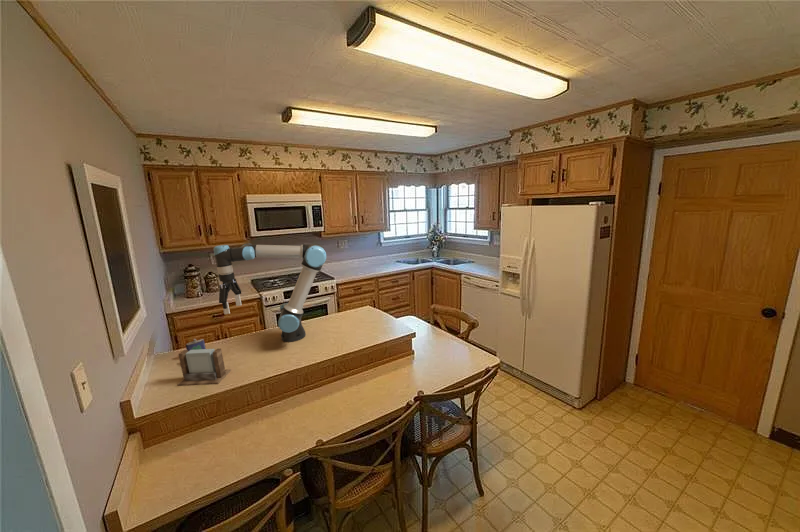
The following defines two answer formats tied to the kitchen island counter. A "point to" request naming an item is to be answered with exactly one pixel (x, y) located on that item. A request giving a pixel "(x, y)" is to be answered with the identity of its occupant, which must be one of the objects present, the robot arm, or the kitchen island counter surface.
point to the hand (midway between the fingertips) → (233, 309)
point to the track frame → (203, 377)
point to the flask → (196, 345)
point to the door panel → (201, 361)
